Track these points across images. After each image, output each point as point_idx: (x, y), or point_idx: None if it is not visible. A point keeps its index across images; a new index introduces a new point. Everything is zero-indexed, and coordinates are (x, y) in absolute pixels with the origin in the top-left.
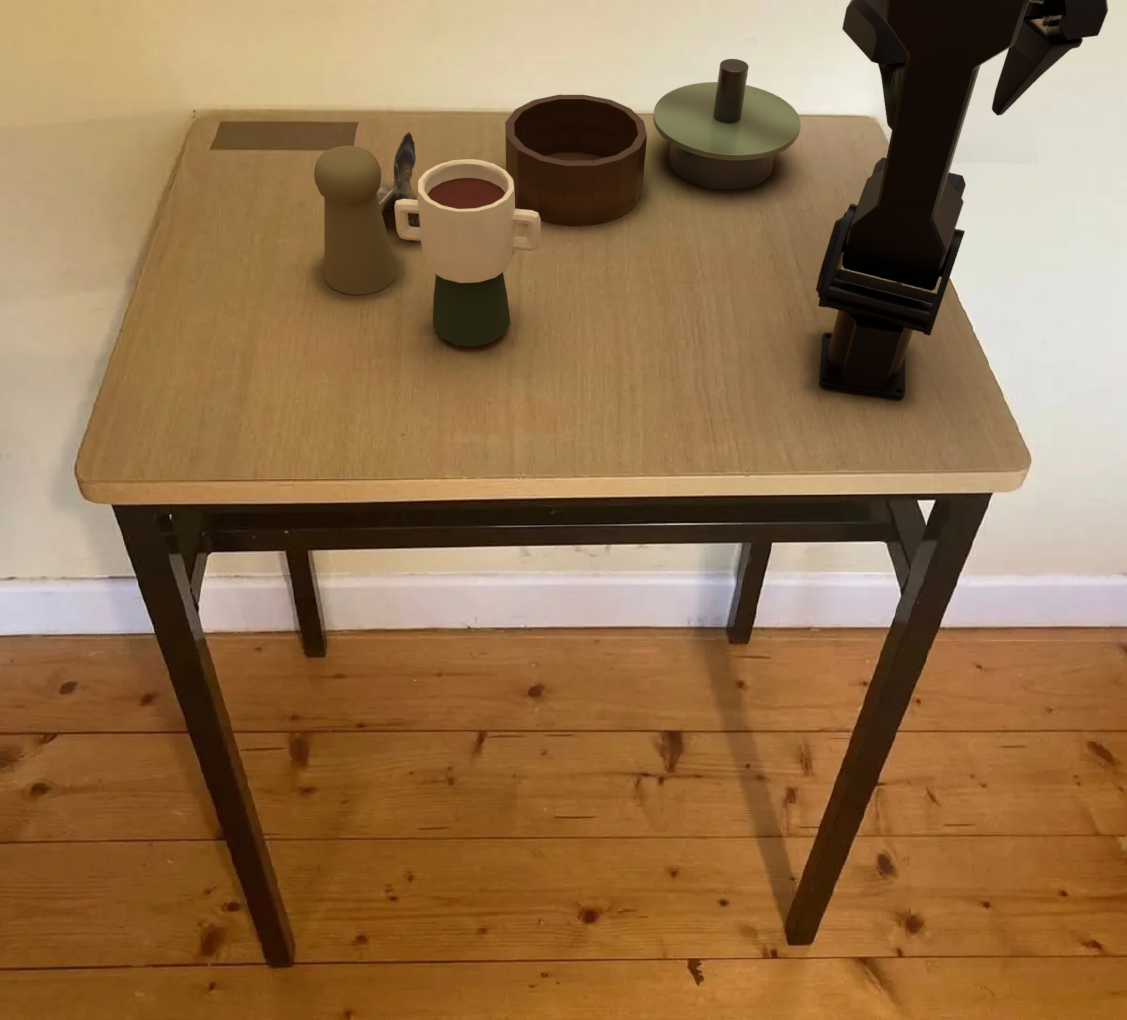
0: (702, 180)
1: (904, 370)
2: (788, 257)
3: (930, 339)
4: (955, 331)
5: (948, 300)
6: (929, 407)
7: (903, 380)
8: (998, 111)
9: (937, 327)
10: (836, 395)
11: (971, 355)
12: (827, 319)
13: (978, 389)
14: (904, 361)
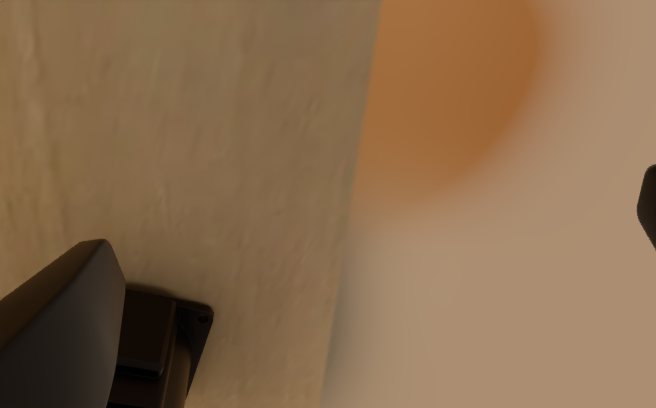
0: None
1: (196, 364)
2: (14, 12)
3: (273, 284)
4: (325, 268)
5: (349, 191)
6: (220, 403)
7: (189, 380)
8: (645, 225)
9: (297, 258)
10: None
11: (326, 318)
12: (90, 230)
13: (305, 376)
14: (202, 349)
